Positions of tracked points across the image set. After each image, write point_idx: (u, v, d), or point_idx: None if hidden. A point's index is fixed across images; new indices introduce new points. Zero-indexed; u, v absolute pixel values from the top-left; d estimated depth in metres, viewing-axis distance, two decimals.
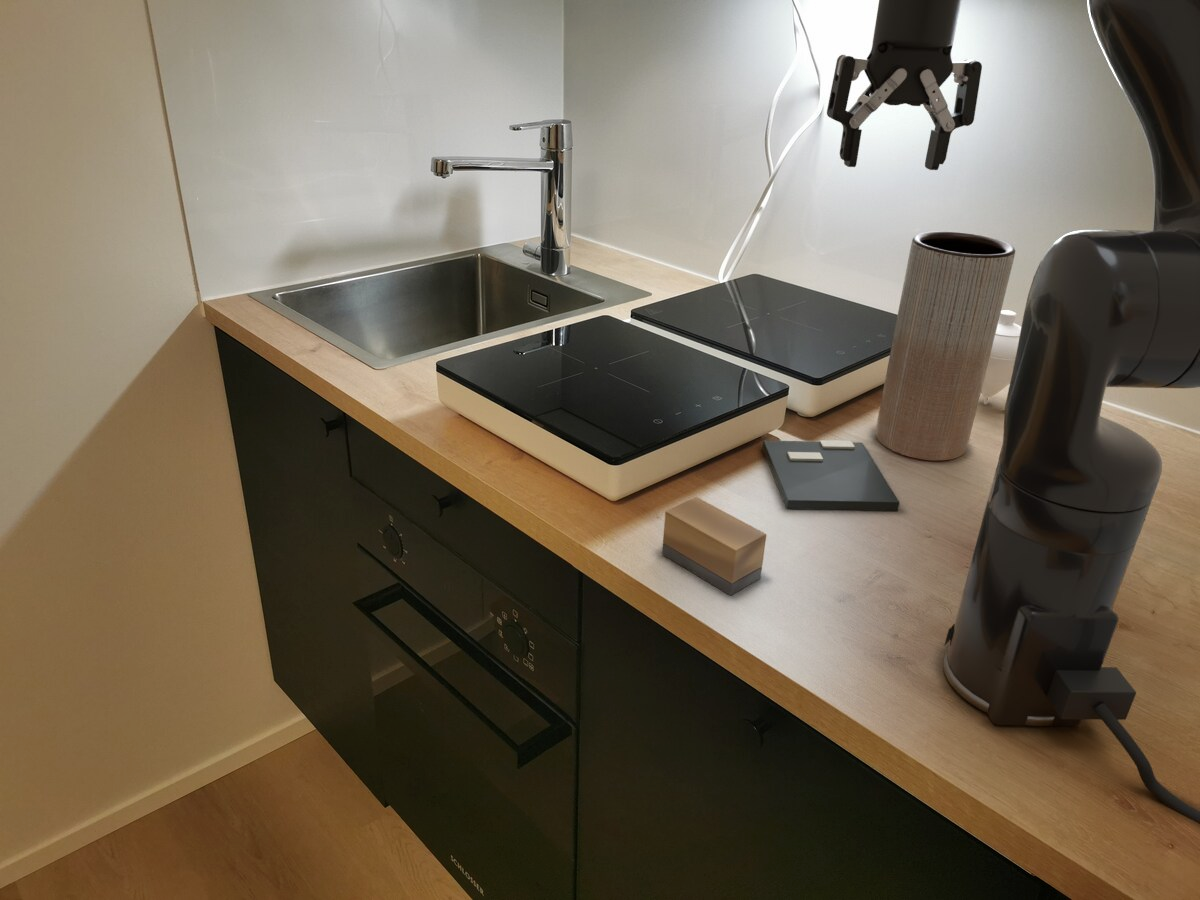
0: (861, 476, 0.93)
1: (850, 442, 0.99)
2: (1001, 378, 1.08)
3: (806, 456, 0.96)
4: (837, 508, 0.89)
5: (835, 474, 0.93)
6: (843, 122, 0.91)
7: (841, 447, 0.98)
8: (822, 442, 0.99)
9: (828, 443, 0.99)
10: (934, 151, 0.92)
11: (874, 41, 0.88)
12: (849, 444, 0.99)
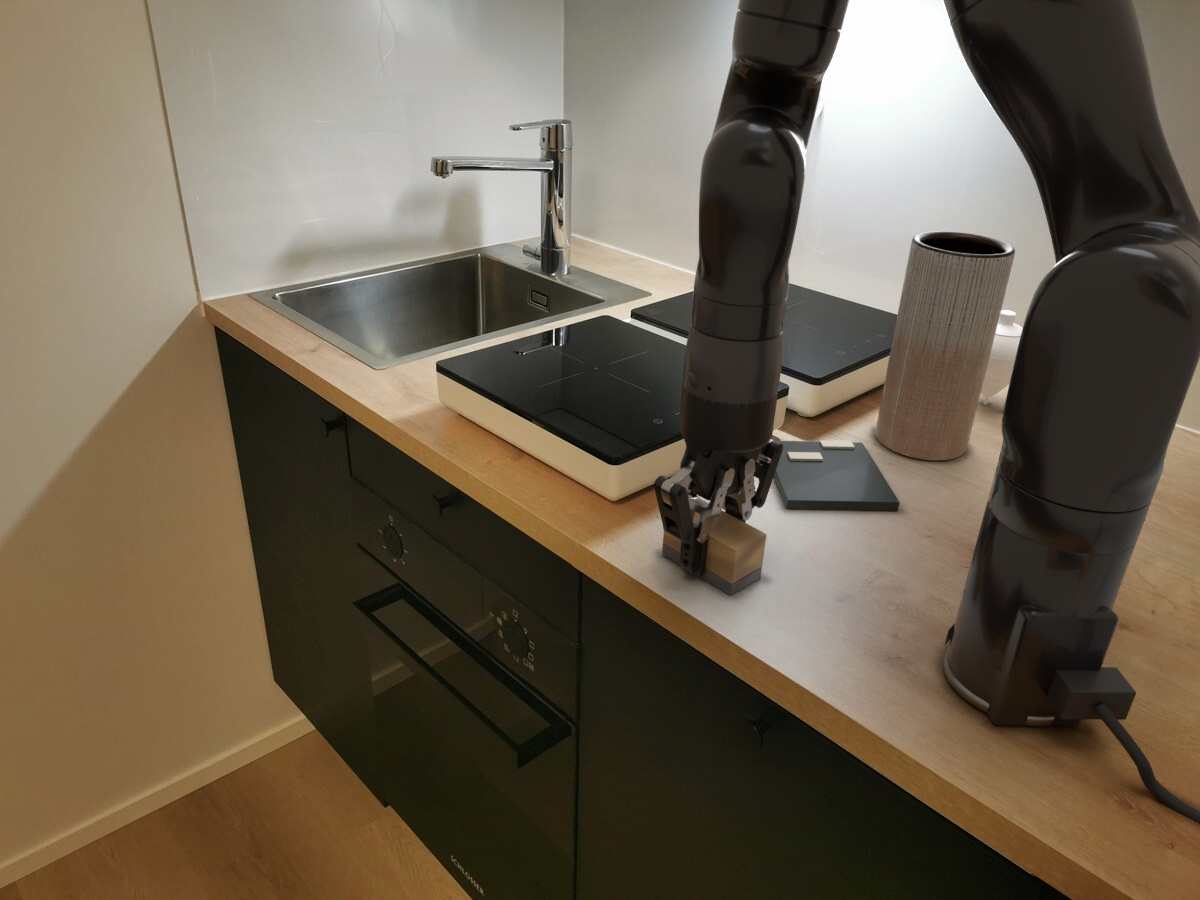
0: (861, 476, 0.93)
1: (850, 442, 0.99)
2: (1001, 378, 1.08)
3: (806, 456, 0.96)
4: (837, 508, 0.89)
5: (835, 474, 0.93)
6: None
7: (841, 447, 0.98)
8: (822, 442, 0.99)
9: (828, 443, 0.99)
10: None
11: (693, 444, 0.71)
12: (849, 444, 0.99)
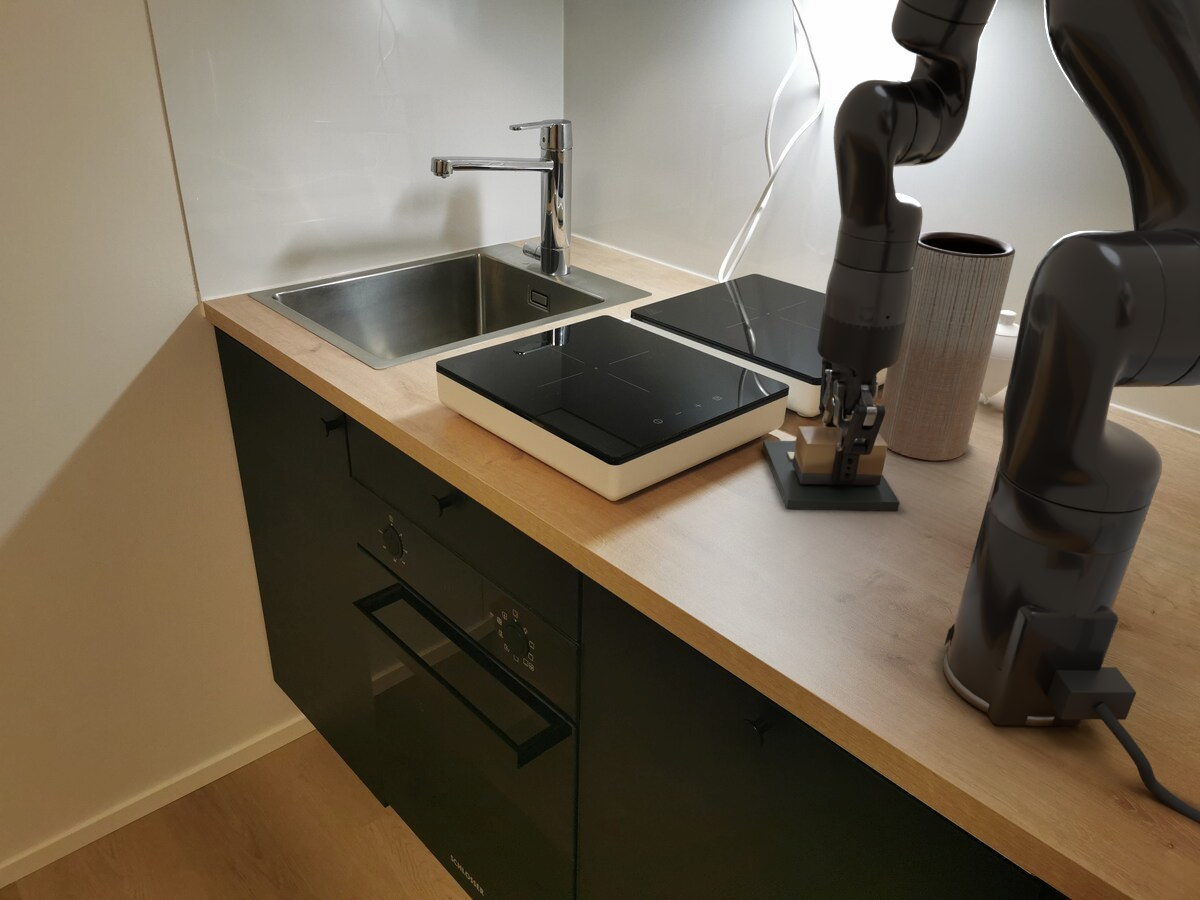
0: None
1: None
2: (1001, 378, 1.08)
3: None
4: (837, 508, 0.89)
5: None
6: None
7: None
8: None
9: None
10: None
11: (868, 369, 0.83)
12: None
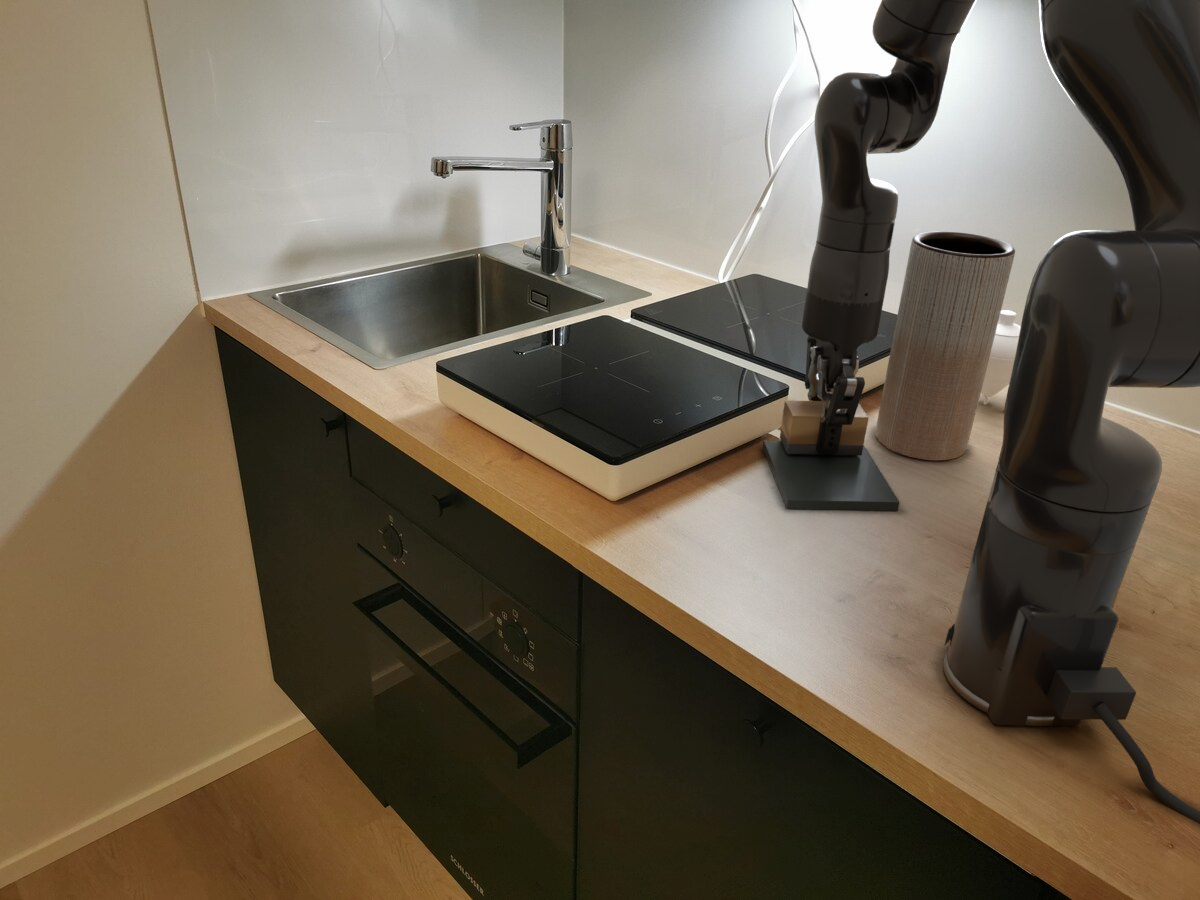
0: (861, 476, 0.93)
1: None
2: (1001, 378, 1.08)
3: None
4: (837, 508, 0.89)
5: (835, 474, 0.93)
6: None
7: None
8: None
9: None
10: None
11: (848, 344, 0.89)
12: None
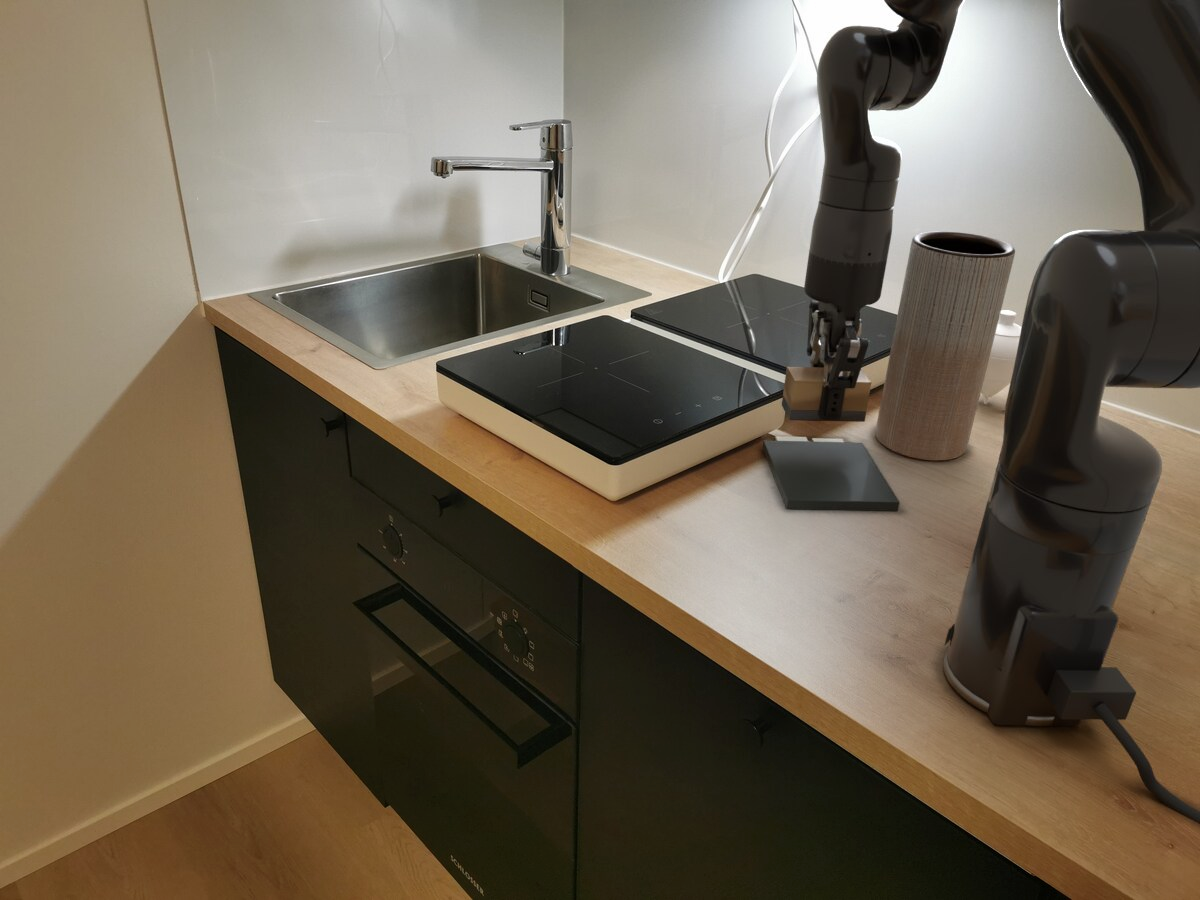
0: (861, 476, 0.93)
1: None
2: (1001, 378, 1.08)
3: None
4: (837, 508, 0.89)
5: (835, 474, 0.93)
6: None
7: None
8: None
9: None
10: None
11: (851, 305, 0.88)
12: None
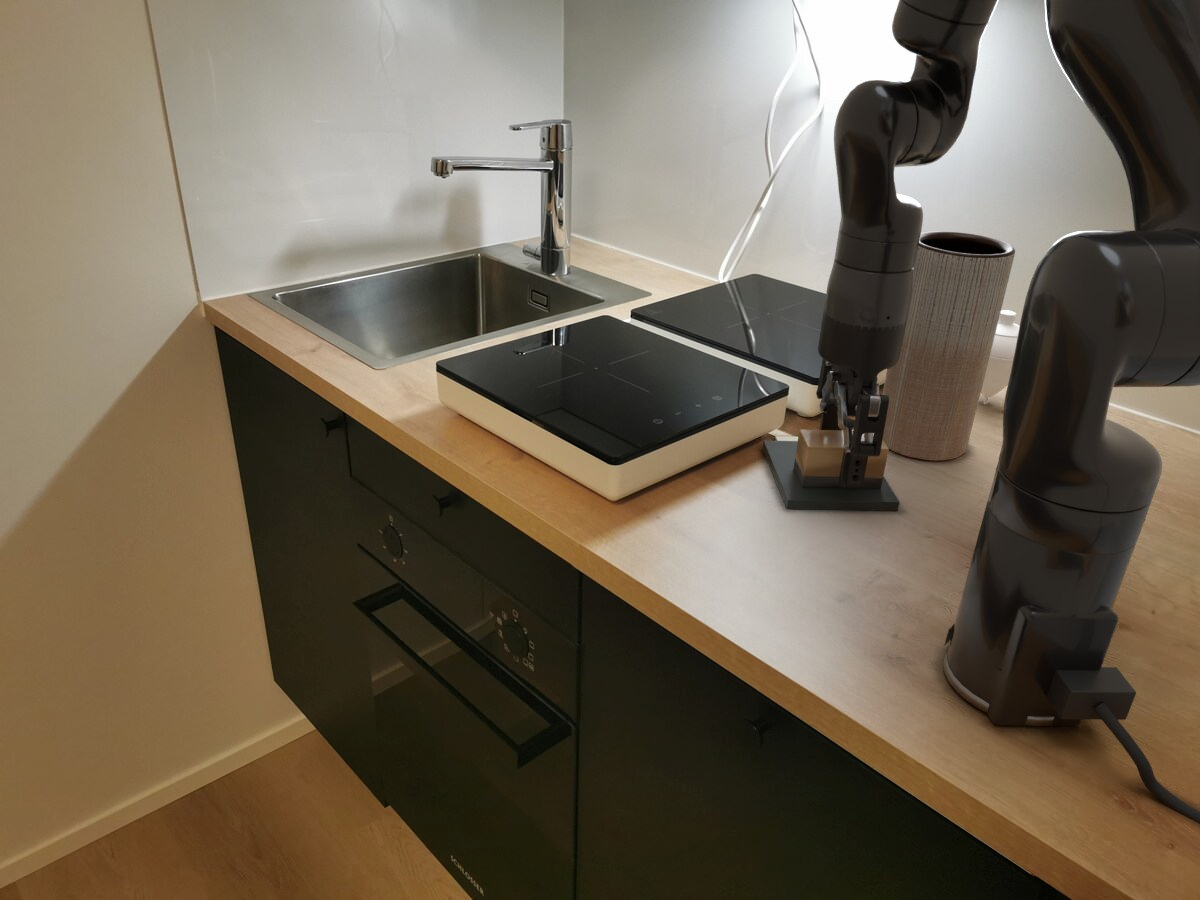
0: None
1: None
2: (1001, 378, 1.08)
3: None
4: (837, 508, 0.89)
5: None
6: None
7: None
8: None
9: None
10: None
11: (868, 370, 0.83)
12: None
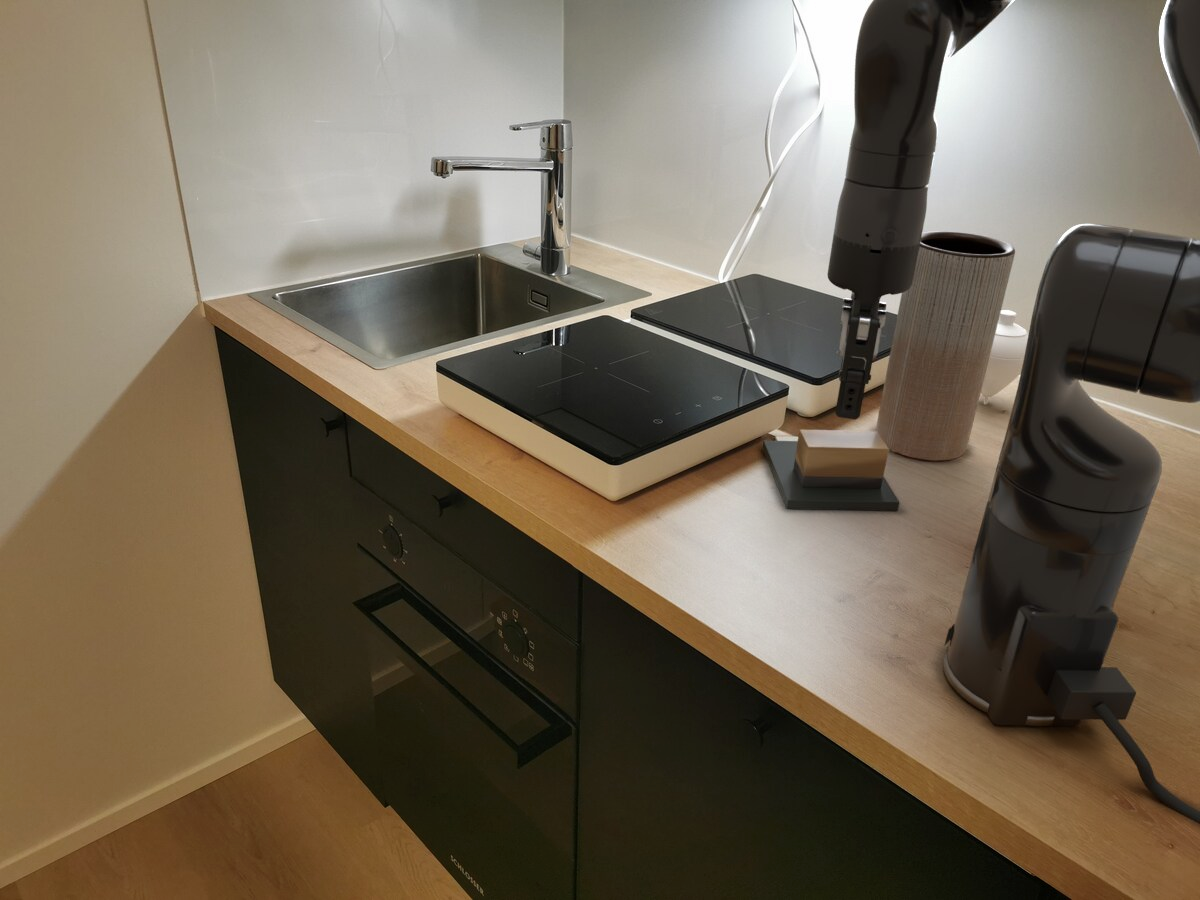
0: None
1: None
2: (1001, 378, 1.08)
3: None
4: (837, 508, 0.89)
5: None
6: None
7: None
8: None
9: None
10: None
11: None
12: None
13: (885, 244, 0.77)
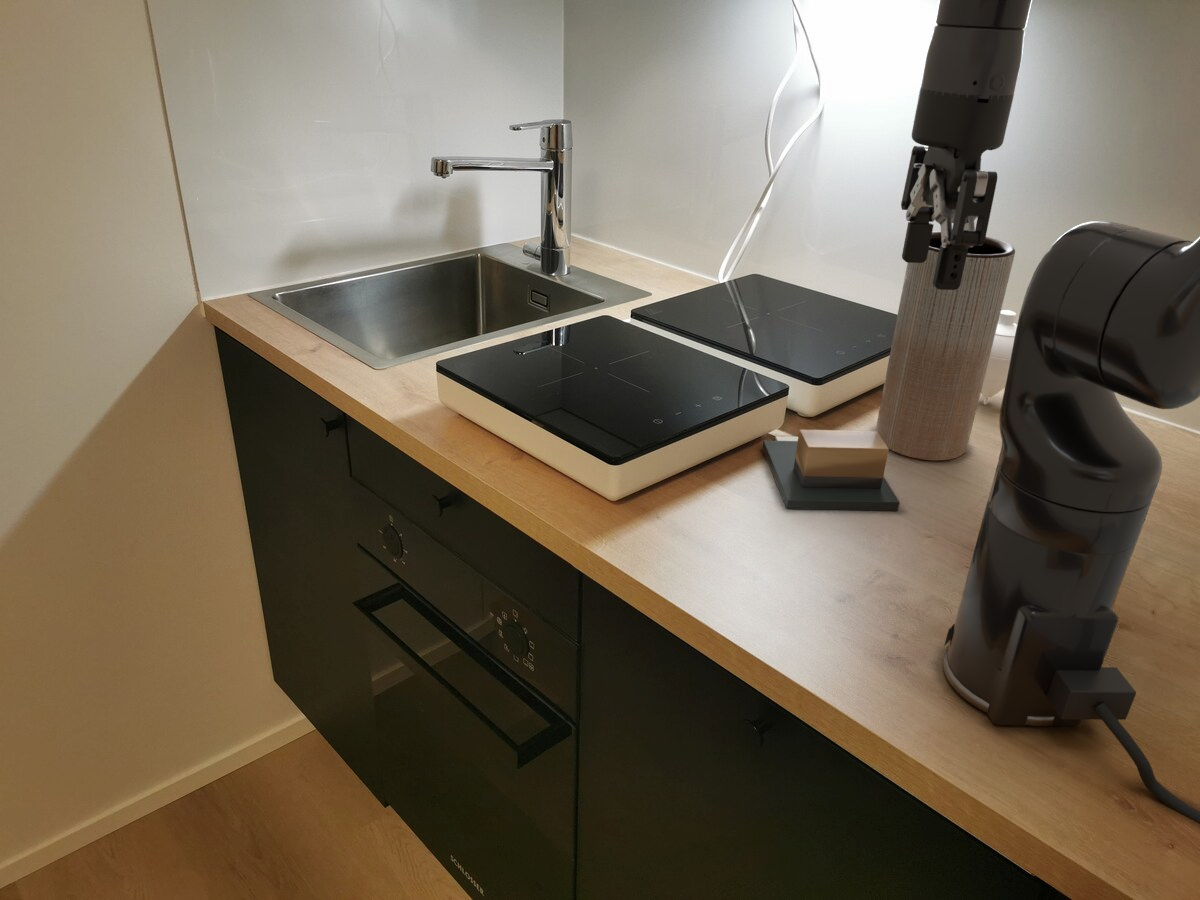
0: None
1: None
2: (1001, 378, 1.08)
3: None
4: (837, 508, 0.89)
5: None
6: None
7: None
8: None
9: None
10: None
11: None
12: None
13: (993, 92, 0.73)
